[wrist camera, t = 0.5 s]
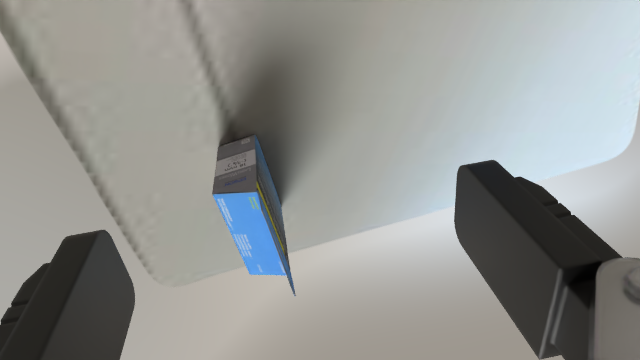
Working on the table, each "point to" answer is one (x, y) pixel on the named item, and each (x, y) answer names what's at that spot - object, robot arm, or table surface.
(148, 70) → the table surface
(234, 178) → the blue retail box
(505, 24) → the table surface
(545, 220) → the robot arm
